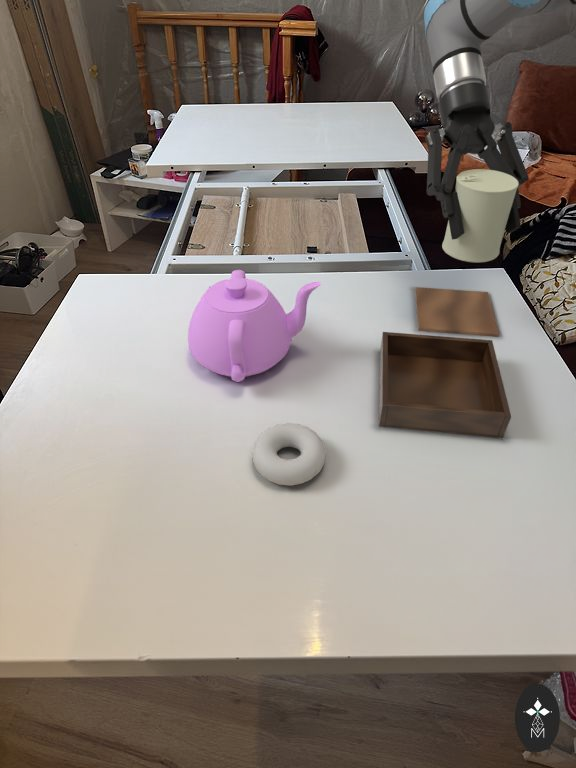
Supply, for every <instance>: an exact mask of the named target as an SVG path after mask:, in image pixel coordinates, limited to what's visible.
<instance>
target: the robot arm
mask: <svg viewBox="0 0 576 768" xmlns="http://www.w3.org/2000/svg"><path fill="white" fill-rule="evenodd" d="M573 6H576V0H429V1H428V2H427V3H426V5H425V8H424V12H423V19H424V20H423V21H424V36H425V41H426V43H427V48H428V52H429V57H430V63H431V68H432V75H433V82H434V87H435V95H436V99H437V101H438V104H437V105H438V112H439V118H440V122H441V125H442V128H438V127H436V126H433V127H432V128H431V129H430V130H429V132H428V133H427V134H426V136H425V138H424V140H425V143H426V147H427V174H426V195H427V196H430V197H432V196H435V199H436V201H438V202H440V206H441V212H442V216H443V218H444V219H446V218H447V219H448V220H449V226H450V232H451V237H452V240H453V239H457V238H459V237H460V236H461V235H463V234H464V227H463V222H462V216H461V210H460V204H459V199H458V194H457V192H454V191H453V189H454V184H455V182H456V178H457V175H458V174H457V173H458V170H459V167H460V163H461V160H462V156H465V155H468V154H471V155H477V156H478V157H479V159H481V160H483V161H484V164H485V165H487V167H488V170H495V171H499V172H503V173H506V174H509V175H511V176H513V177H514V178H515V179H517V181H518V183H519V185H518V188H517V190H516V193H515V197H514V200H513V203H512V207H511V210H510V213H509V217H508V220H507V224H506V227H505V230H506V234H512V233H513V232H516V231H517V230H519V229H520V228H521V227H522V225H521V219H520V213H519V209H520V208H521V206H522V203H521V202H522V201H521V196H520V191H519V187H521V186H522V185H523V184H525V183H526V182H528V181H529V179H530V177H529V173H528V171H527V169H526V166H525V164H524V162H523V159H522V156H521V153H520V151H519V148H518V146H517V143H516V141H515V138H514V136H513V124H512V123H511V122H510V121H506V122H505V123H504V124H495V122H494V121H493V119H492V117H491V101H490V95H489V90H488V87H487V78H486V77H487V76H486V72H485V67H484V62H483V61H484V60H483V57H482V56H483V55H482V49H481V48H482V47H481V45H482V44H483V43H484V42H485V41H487V40H489V39H490V38H492V37H493V36H494V35H495V34H496V33H498V32H499V31H500V30H502V29H504V28H505V27H506V26H507V25H509V24H510V23H511V22H513V21H515V20H517V19H521V18H525V17H529V16H533V15H537V14H542V13H548V12H553V11H556V10H560V9H564V8H568V7H573ZM492 135H493V136H494V138H493V136H492ZM443 141H445V142H446V143H447V144H448V145H449V146H450V147H449V151H448V154H447V161H446V164H445V168H444V172H443V175H442V159H443V157H442V156H443Z"/></svg>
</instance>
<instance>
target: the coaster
mask: <svg viewBox="0 0 576 768" xmlns="http://www.w3.org/2000/svg"><path fill="white" fill-rule="evenodd" d="M414 293H415V294H414V296H415V308H416V309H415V310H416V319H417V331H418V332H430V333H443V334H458V335H470V336H483V337H493V338H494V337H495V338H499V336H500V332H499V328H498V324H497V320H496V317H495V314H494V309H493V306H492V303H491V299H490V298H491V297H490V295H489V292H488V291H479V290H464V289H449V288H435V287H433V288H432V287H421V286H415V287H414Z"/></svg>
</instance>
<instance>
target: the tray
mask: <svg viewBox="0 0 576 768" xmlns="http://www.w3.org/2000/svg"><path fill="white" fill-rule="evenodd" d="M378 383H379V384H378V385H379V387H378V388H379V389H378V390H379V391H378V392H379V393H378V394H379V395H378V399H379V400H378V427H381V428H389V429H390V428H391V429H402V430H410V431H411V430H412V431H423V432H432V433H433V432H434V433H444V434H454V435H466V436H475V437H485V438H496V439H504V437H505V433H506V431H507V430H508V426H509V424H510V422H511V419H512V414H511V411H510V410H511V409H510V407H509V402H508V398H507V393H506V390H505V386H504V382H503V377H502V373H501V370H500V366H499V362H498V358H497V354H496V350H495V345H494V342H493V340H492V339H481V338H467V337H455V336H443V335H428V334H416V333H406V332H405V333H404V332H392V331H382V334H381V341H380V348H379V382H378Z"/></svg>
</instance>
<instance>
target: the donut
mask: <svg viewBox="0 0 576 768" xmlns="http://www.w3.org/2000/svg"><path fill="white" fill-rule="evenodd" d="M284 448H294V449H296V450H298V451H299V452H300V455H299V456H298V457H296V458H295V457H294V458H291V459H288V458H287V459H286V458H283V457H280V456H279V455H278V451H280V450H282V449H284ZM326 454H327V451H326V446H325V443H324V441H323V439H322V438H321V437H320V436H319V434H318V433H317V432H316V431H314V430H313V429H311V427H308V426H305V425H303V424H300V423H294V422H284V423H278V424H275V425H272V426H270V427H268V428H266V429H264V431H263V432H261V433H260V434H259V436H257V438H256V439H255V441H254V443H253V447H252V451H251V456H252V462H253V466H254V467H255V469H256V470H257V472H258V473H259V474H260V475H261V476H262V477H263V478H265V479H266V480H268V482H272V483H274V484H277V485H280V486H295V485H303V484H304V483H306V482H309V481H310V480H312V479H314V477H315V476H317V475H318V474H319V473H320V472H321V470H322V468H323V466H324V465H325V462H326V456H327V455H326Z"/></svg>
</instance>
